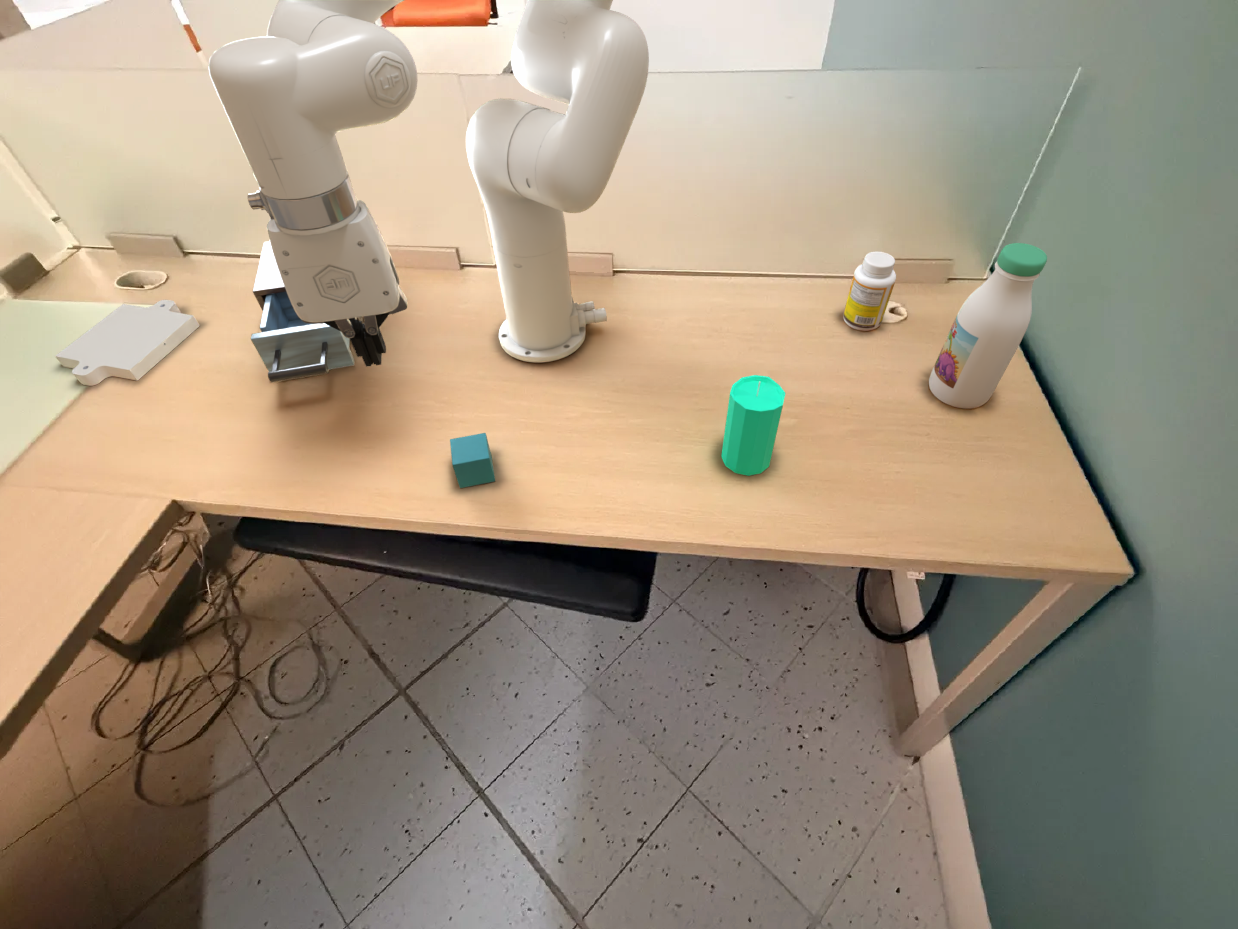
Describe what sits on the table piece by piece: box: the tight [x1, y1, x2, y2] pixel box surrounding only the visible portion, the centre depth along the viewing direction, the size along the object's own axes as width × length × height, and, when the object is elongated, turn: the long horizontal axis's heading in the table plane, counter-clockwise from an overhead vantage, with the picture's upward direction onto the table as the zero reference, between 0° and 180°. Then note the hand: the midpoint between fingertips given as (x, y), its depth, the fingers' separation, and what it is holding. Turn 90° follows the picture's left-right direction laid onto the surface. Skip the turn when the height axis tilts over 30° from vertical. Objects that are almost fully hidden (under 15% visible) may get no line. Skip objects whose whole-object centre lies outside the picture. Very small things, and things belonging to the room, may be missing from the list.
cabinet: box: [252, 240, 364, 323], centre depth 98 cm, size 14×12×9 cm
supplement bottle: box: [842, 251, 897, 332], centre depth 92 cm, size 6×6×10 cm
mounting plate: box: [54, 299, 201, 387], centre depth 96 cm, size 18×13×2 cm
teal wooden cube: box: [449, 432, 496, 489], centre depth 77 cm, size 4×4×4 cm
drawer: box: [250, 292, 356, 383], centre depth 89 cm, size 18×11×7 cm, turn 14°
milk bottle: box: [928, 242, 1048, 409], centre depth 78 cm, size 8×8×20 cm
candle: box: [720, 374, 786, 477], centre depth 74 cm, size 6×6×12 cm
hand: (374, 357), depth 73 cm, fingers closed
